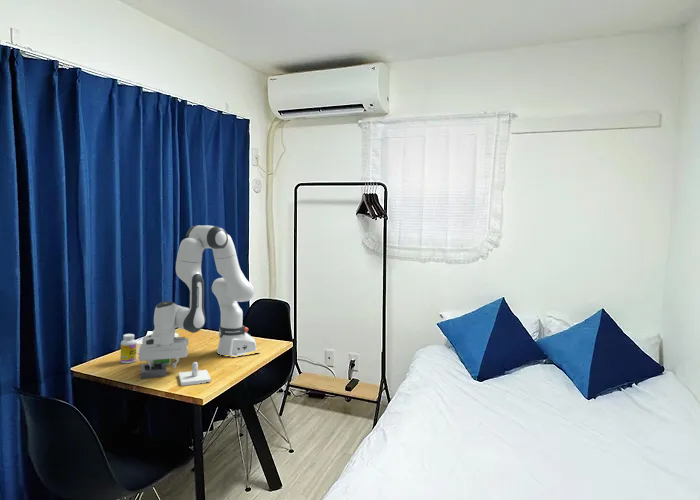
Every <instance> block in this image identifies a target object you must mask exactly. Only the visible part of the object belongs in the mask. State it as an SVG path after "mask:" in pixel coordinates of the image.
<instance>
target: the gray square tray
mask: <svg viewBox="0 0 700 500" xmlns="http://www.w3.org/2000/svg"><path fill="white" fill-rule="evenodd" d="M151 365H154V369H153V370H150V366H149V364H148V363H144V364H140V379H141V380H144V379H145V380H146V379H155V378H163V377H165V378H166V377H167V367H166V366H167V365H165V362H164V363H153V364H152V363H151Z"/></svg>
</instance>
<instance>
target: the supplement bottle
mask: <svg viewBox="0 0 700 500" xmlns="http://www.w3.org/2000/svg"><path fill="white" fill-rule="evenodd" d="M119 357H120V362H121V364H132V363H135V362H136V360H137V340H136V339H135V334H134V333H125V334H123V337H122V340H121V342H120V356H119Z"/></svg>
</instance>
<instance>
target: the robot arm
mask: <svg viewBox="0 0 700 500" xmlns="http://www.w3.org/2000/svg"><path fill="white" fill-rule="evenodd" d="M205 249H212V255H213V259H214V263H215V267H216V271H217V273H218V274H219V275H220V276H221V277H218V278H216V279H214V280H213V283H212V285H211V292H212V294H214V296H215V297H216V299H217V303H218V306H219V311H220V325H219V328H218V330H219V331H218V335H219V341H218V346H217V349H216V352H217V353H218V354H220V355H219V356H221V355H229V356H239V355H244V354H246V353H248V352H252V351H256V350H257V348H256V346H257V342H256V339H255V338H254V337H252V336H251V334H249V333H248V331H249V328H248V327H246V326H245V325H243V319H244V318H243V316H244V315H243V313H244V312H243V309H242V308H241V307H240V305H239V303H243V302H249V301H251V300H252V299H253V297H254V294H255V288H254V285H253V284H252V283H251V282H250V281H249V280H248V279H247V278H246V276H245V274H244V273H243V271H242V270H241V266H240V263H239V259H238V256H237V255H238V254H237V251H236V248H235V244H234V242H233V239H232V237H231V235H230V234H228V233H227V231H226V230H225V229H224V228H222V227H219V226H216V225H215V226H214V225H209V224H208V225H207V224H206V225H200V224H199V225H193V226H191V227H190V228H188V230H187V232H186V234H185V238H183V239H182V240H181V242H180V245H179V247H178V249H177V256H176V260H175V274H176V276H177V277H178V278H179V279H180V280H181V281H182V282H183V283H185V285H186V286H187V288H188V289H189V307H186V306H181V305H178V304H176V303H174V302H173V301H169V300H167V301H162V302H159V303H158V304H156V306H155V308H154V313H153V314H154V315H153V325H154V328H153V329H154V334H153V333H152V334H148V335H146V336H144V337H142V341H141V342H142V343H141V344H140V347H139V350H138V360H139V361H140V362H146V361H147V363H146V364H149V366H150V370H153V369H154V365H151V364H152V363H151V360H160V359H175V361H174V362H173V363H172V368H173V369H174V368H177V364H178V363H179V361H180V359H181V358H182V359H183V358H186V357H187V356H188V354H189V353H188V345H189V343H190V342H189V338H187V337H186V336H176V334H175V333H176V329H177V328H179V329H182V330H184V331H187V332H188V333H192V334H194V333H195V334H196V333H197V332H199V331H201V330H202V329H203V328H204V326H205V324H206V314H205V281H204V277H203V274H202V261H203V253H204V251H205ZM238 302H239V303H238ZM175 336H176V337H175ZM217 353H216V354H217ZM218 354H217V355H218Z"/></svg>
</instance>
